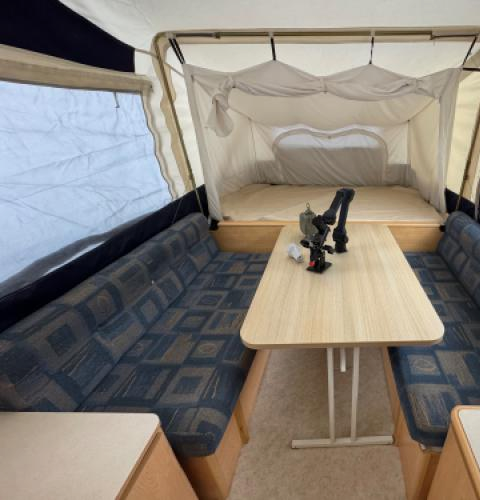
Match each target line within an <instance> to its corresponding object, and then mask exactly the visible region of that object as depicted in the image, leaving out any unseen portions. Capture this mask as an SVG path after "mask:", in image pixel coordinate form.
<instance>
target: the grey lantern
mask: <svg viewBox="0 0 480 500" xmlns="http://www.w3.org/2000/svg"><path fill="white" fill-rule="evenodd" d="M305 205H306V209H305V210H304V211H303V212H301V213H299V214H298V215H299V216H298V217H299V218H298V219H299V220H298V221H299V230H300V232H301V233H302V235H304V238H305V239H308V236H309V234H310V235H315V233H316V234H317V232H318V230H316V228H315V227H314V226H313V225H312V219H313V218H315V217H317V216H318V214H316V212H314V211H313V210H312V209H311V204H310V203H309V202H306V204H305Z"/></svg>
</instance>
